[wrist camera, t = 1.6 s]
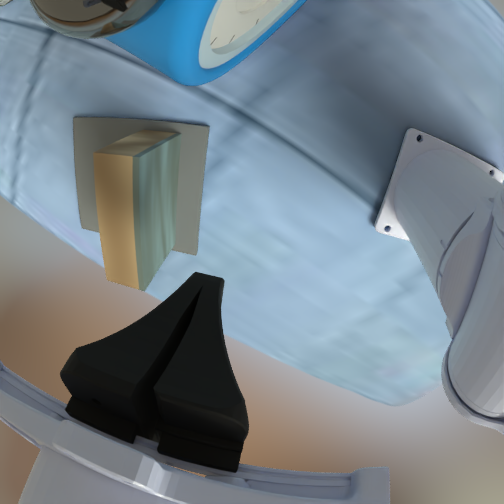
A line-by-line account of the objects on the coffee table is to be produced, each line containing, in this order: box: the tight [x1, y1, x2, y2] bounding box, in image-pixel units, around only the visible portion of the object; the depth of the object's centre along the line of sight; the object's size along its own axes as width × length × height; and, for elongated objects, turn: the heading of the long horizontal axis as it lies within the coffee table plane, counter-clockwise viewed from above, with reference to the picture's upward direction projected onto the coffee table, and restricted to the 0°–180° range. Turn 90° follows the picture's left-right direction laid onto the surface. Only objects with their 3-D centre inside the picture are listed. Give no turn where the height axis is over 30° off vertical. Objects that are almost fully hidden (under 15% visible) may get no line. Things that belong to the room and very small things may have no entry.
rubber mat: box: [73, 117, 210, 256], centre depth 21 cm, size 12×10×1 cm
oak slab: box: [93, 130, 182, 291], centre depth 19 cm, size 3×9×6 cm, turn 171°
